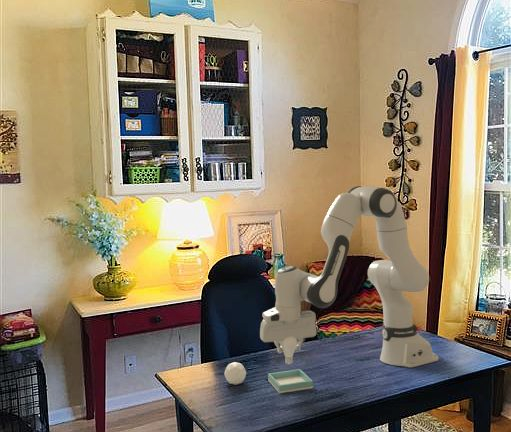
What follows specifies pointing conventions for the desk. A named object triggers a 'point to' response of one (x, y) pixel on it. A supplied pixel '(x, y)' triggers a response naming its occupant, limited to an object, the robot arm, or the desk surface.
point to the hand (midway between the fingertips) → (288, 351)
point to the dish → (290, 381)
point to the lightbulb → (289, 348)
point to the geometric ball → (235, 373)
